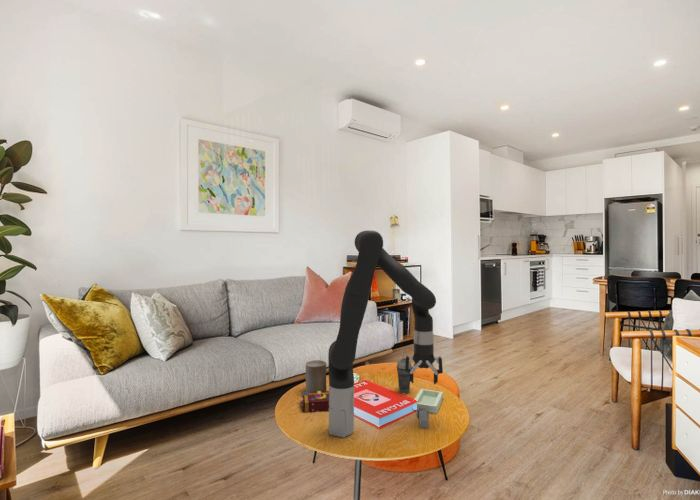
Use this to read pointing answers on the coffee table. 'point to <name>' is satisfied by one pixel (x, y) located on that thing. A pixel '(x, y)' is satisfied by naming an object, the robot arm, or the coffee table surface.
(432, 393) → the mint green tray
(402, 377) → the beverage cup
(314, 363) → the pillar candle
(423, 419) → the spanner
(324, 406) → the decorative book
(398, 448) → the coffee table surface
